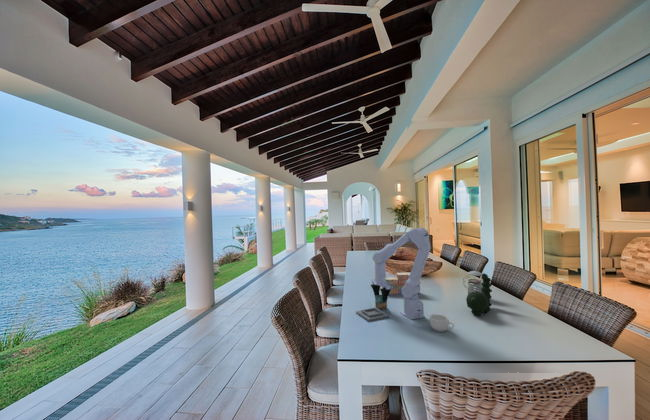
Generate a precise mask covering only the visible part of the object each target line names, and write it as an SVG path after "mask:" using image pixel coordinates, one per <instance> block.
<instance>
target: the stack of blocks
mask: <svg viewBox="0 0 650 420" xmlns="http://www.w3.org/2000/svg"><path fill="white" fill-rule="evenodd" d="M410 273H411V272H396V274H395V276H394V277H391V276H390V277H389V276H388V277H387V276H386V283H387V284H388V285H390V289H391V291H390V293H389V295H402V292H401V290H402V287H403V286H405V284H406V282H407V280H408V279H409V276H410ZM382 288H383V287H381V289H382Z"/></svg>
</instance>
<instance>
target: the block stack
mask: <svg viewBox="0 0 650 420" xmlns="http://www.w3.org/2000/svg"><path fill="white" fill-rule="evenodd" d="M374 299H375V301H374V302H375V306H374V307H375V308H377V309H379V310H381V311H383V310H386V309H388V300H387V301H386V302H383V300H382V294H379V295H376V296H375V295H374Z"/></svg>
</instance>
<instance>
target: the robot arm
mask: <svg viewBox="0 0 650 420" xmlns="http://www.w3.org/2000/svg"><path fill="white" fill-rule="evenodd" d="M408 242H412V243H413V244H414V245H415V246H416V247H417V249H418V250H417V253H416V256H415V258H414V262H413V265H412V268H411V270H410V272H409V273H410V276H409V279H408V280H407V282H406V284H405V286H403V287H402V290H401V292H402V294H401V296H403V310H402V311H400V314H401V315H402V316H405V317H407V318H408V319H411V320H416V319H421V318H425V317H426V315H425V314H424V313H425V312H424V310H425V309H424V302H423V301H422V300H421V299H420V297H419V293H420V292H421V278H422V275H423V272H424V270H425V269H424V268H425V266H426V263H427V261H428V256H429V254H430V251H431V248H432V247H431V243H430V234H429V232H428V231H427V230H426V229H425V228H424V227H417V228H411V229H410V230H409V231H407V232H405V233H404V234H403V235H401V236H400V237H399V238H398V239H397V240H395V242H393V243H386V244H385V245H384V247H383V248H382V249H379V252H374V254H373V255H372V260H373V262H374V279H371V284H370V286H371V289H372V291H373V294H374V297H375V296H376V295H380V293H381V295H382V300H383V302H386V301H387V302H388V298H389V295H390V294H389V293H390V291H391V289H390V285H388V284H387V283H386V277H387V276H386V275H387V274H386V272H387V271H386V270H387V268H386V267H387V265H386V263H387V260H388V259H390V258H391V257H392V256H394V255H395V254H396V253H397V249H399V248H400V247H402V246H403V245H404V244H406V243H408ZM382 287H383V288H382Z"/></svg>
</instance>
